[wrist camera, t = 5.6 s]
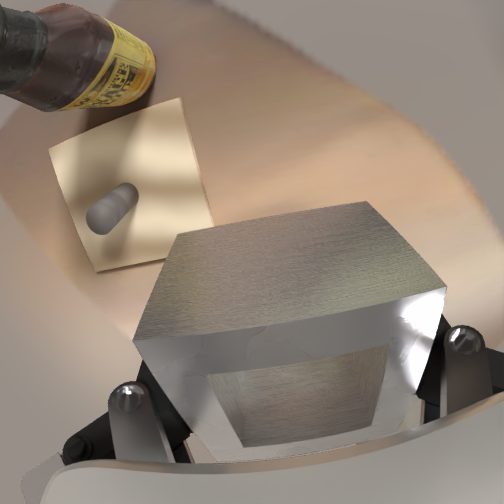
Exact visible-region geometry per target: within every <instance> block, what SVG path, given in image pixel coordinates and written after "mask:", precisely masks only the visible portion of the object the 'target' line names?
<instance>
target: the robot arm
mask: <svg viewBox="0 0 504 504" xmlns="http://www.w3.org/2000/svg"><path fill="white" fill-rule="evenodd" d="M190 433H193V431H192V430H191V429H190V427H189V426H188V425H187V423H186V422H185V421H184V419H183V418H182V417H181V415H180V414H179V412H178V411H177V410H176V408H175V407H174V405H173V404H172V403H171V401H170V400H169V398H168V397H167V395H166V394H165V392H164V391H163V389H162V388H161V386H160V385H159V383H158V382H157V380H156V379H155V377H154V376H153V374H152V373H151V371H150V369H149V368H148V366H147V365H146V363H145V361H144V360H142V363H141V366H140V370H139V373H138V376H137V379H136V381H130V382H125V383H123V384H121V385H119V386H118V387H116V388H115V389H114V391H113V392H112V393H111V394H110V396H109V399H108V412H107V413H105V414H104V415H102V416H101V417H99V418H98V419H96V420H95V421H93V422H92V423H91V424H89V425H88V426H86V427H85V428H83V429H82V430H80V431H79V432H77V433H76V434H74V435H73V436H71V437H70V438H69V439H68V440H67V442H66V443H65V445H64V448H63V453H62V454H60V453H59V452H58V453H56V454H55V455H53V456H52V457H50V458H49V459H47V460H46V461H44V462H43V463H41V464H40V465H38V466H37V467H35V468H34V469H32V470H30V471H29V472H27V473H26V474H25V475H24V476H23V478H22V481H21V490H22V493H23V496H24V499H25V501H26V504H504V353H502V352H499V351H496V350H493V349H489V348H486V345H485V341H484V338H483V336H482V335H481V333H480V332H479V331H478V330H476V329H475V328H473V327H470V326H466V325H457V326H454V327H452V328H451V326H450V325H449V323H448V322H447V320H446V319H445V317H444V316H443V315H442V313H441V316H440V319H439V323H438V327H437V330H436V334H435V337H434V341H433V344H432V347H431V350H430V354H429V357H428V360H427V363H426V365H425V368H424V371H423V374H422V377H421V379H420V382H419V385H418V387H417V390H416V393H415V395H414V398H413V400H412V402H411V405H410V407H409V410H408V412H407V414H406V416H405V419H404V421H403V423H402V425H401V427H400V430H399V431H398V432H395V433H392V434H389V435H385V436H382V437H378V438H375V439H371V440H368V441H364V442H360V443H356V445H354V446H350V447H346V448H341V449H336V450H332V451H327V452H321V453H317V454H310V455H304V456H298V457H290V458H283V459H274V460H265V461H255V462H239V463H217V464H216V463H214V464H195V462H194V459H193V457H192V454H191V452H190V449H189V447H188V444H187V442H186V439H187V438H188V437H189V436H190Z"/></svg>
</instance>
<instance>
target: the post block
mask: <svg viewBox="0 0 504 504" xmlns="http://www.w3.org/2000/svg"><path fill="white" fill-rule="evenodd" d="M49 152H50V156H51V159H52V162H53V166H54V169H55V172H56V175H57V178H58V181H59V184H60V187H61V190H62V193H63V195H64V198H65V201H66V204H67V206H68V209H69V212H70V214H71V217H72V219H73V222H74V224H75V227H76V229H77V232H78V234H79V236H80V239H81V241H82V243H83V246H84V248H85V250H86V252H87V255H88V257H89V259H90V261H91V263H92V266H93V268H94V270H95V272H98V271H103V270H108V269H113V268H118V267H123V266H128V265H132V264H137V263H142V262H147V261H152V260H157V259H162V258H167V256H168V254H169V251H170V249H171V247H172V245H173V243H174V240H175V238H176V236H177V234H179V233H184V232H189V231H194V230H200V229H205V228H210V227H215V225H214V221H213V217H212V214H211V210H210V206H209V203H208V199H207V195H206V192H205V188H204V184H203V180H202V177H201V173H200V169H199V165H198V161H197V158H196V154H195V150H194V146H193V142H192V138H191V134H190V130H189V126H188V122H187V118H186V114H185V110H184V106H183V102H182V98H176V99H173V100H170V101H166V102H163V103H160V104H157V105H154V106H151V107H148V108H145V109H142V110H139V111H136V112H133V113H131V114H128V115H125V116H123V117H120V118H117V119H115V120H112V121H110V122H107V123H105V124H102V125H100V126H97V127H95V128H93V129H90V130H88V131H86V132H84V133H81V134H79V135H77V136H75V137H73V138H71V139H68V140H66V141H64V142H62V143H60V144H58V145H56V146H54V147H52V148H50V149H49Z"/></svg>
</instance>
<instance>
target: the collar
mask: <svg viewBox="0 0 504 504" xmlns="http://www.w3.org/2000/svg"><path fill="white" fill-rule="evenodd" d="M446 290H447V285H446V284H445V283H444V282H443V281H442V279H441V278H440V277H439V276H438V275H437V274H436V273H435V271H434V270H433V269H432V268H431V267H430V266H429V265H428V263H427V262H426V261H425V260H424V259H423V258H422V257H421V256H420V255H419V254H418V252H417V251H416V250H415V249H414V248H413V247H412V246H411V245H410V244H409V243H408V242H407V241H406V240H405V239H404V238H403V237H402V236H401V235H400V233H399V232H398V231H397V230H396V229H395V228H394V227H393V226H392V225H391V224H390V223H389V222H388V221H387V220H386V219H385V218H384V217H383V216H382V215H381V214H380V213H379V212H377V211H376V210H375V209H374V208H373V207H372V206H371V205H370V204H369V203H368V202H367V201H363V202H356V203H350V204H343V205H337V206H330V207H324V208H318V209H312V210H306V211H299V212H294V213H288V214H282V215H276V216H270V217H264V218H259V219H253V220H248V221H242V222H237V223H231V224H226V225H221V226H215V227H210V228H205V229H200V230H194V231H189V232H184V233H179V234H177V236H176V238H175V240H174V243H173V245H172V247H171V249H170V251H169V254H168V256H167V258H166V260H165V263H164V265H163V267H162V269H161V272H160V274H159V276H158V279H157V281H156V283H155V286H154V288H153V290H152V293H151V295H150V298H149V300H148V302H147V305H146V307H145V310H144V312H143V315H142V317H141V320H140V322H139V325H138V327H137V330H136V333H135V335H134V338H133V340H132V341H133V343H134V345H135V346H136V348H137V350H138V351H139V353H140V355H141V356H142V358H143V360H144V361H145V363H146V365H147V366H148V368H149V369H150V371H151V373H152V374H153V376H154V377H155V379H156V380H157V382H158V383H159V385H160V386H161V388H162V389H163V391H164V392H165V394H166V395H167V397H168V398H169V400H170V401H171V403H172V404H173V405H174V407H175V408H176V410H177V411H178V412H179V414H180V415H181V417H182V418H183V419H184V421H185V422H186V423H187V425H188V426H189V427H190V429H191V430H192V431H193V433H194V434H195V435H196V436H197V438H198V439H199V440H200V442H201V443H202V444H203V445H204V446H205V447H206V449H207V450H208V451H209V453H210V454H211V455H212V456H213V457H214V459H215V460H216V461H217V462H223V461H224V462H225V461H245V460H258V459H268V458H278V457H285V456H294V455H300V454H306V453H312V452H318V451H324V450H329V449H333V448H338V447H343V446H347V445H351V444H356V443H360V442H364V441H368V440H371V439H375V438H378V437H382V436H385V435H389V434H392V433H395V432H398V431H399V430H400V427H401V425H402V423H403V421H404V419H405V416H406V414H407V412H408V410H409V407H410V405H411V402H412V400H413V398H414V395H415V393H416V390H417V387H418V385H419V382H420V379H421V377H422V374H423V371H424V368H425V365H426V363H427V360H428V357H429V354H430V350H431V347H432V344H433V341H434V337H435V334H436V330H437V327H438V323H439V319H440V316H441V312H442V308H443V304H444V299H445V295H446Z"/></svg>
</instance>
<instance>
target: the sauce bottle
mask: <svg viewBox="0 0 504 504" xmlns="http://www.w3.org/2000/svg"><path fill="white" fill-rule="evenodd" d="M155 75H156V57H155V55H154V54H153V52H152V51H151V49H150V47H149V46H148V45H147V44H146V43H145V42H143V41H142V40H140V39H138V38H137V37H135V36H134V35H132V34H130V33H129V32H127V31H126V30H124V29H122V28H121V27H119V26H117V25H115V24H114V23H112V22H110V21H108V20H106V19H105V18H103V17H101V16H99V15H96V14H93V13H90V12H88V11H86V10H84V9H83V8H80V7H78V6H74V5H69V4H65V3H61V4H56V5H53V6H49V7H46V8H44V9H41V10H39V11H37V12H35V13H33V12H30V11H24V12H21V11H17V10H13V9H9V8H5V7H2V6H1V5H0V94H4V95H6V96H9V97H11V98H14V99H16V100H18V101H20V102H23V103H25V104H27V105H30V106H32V107H34V108H37V109H39V110H41V111H44V112H53V111H63V110H71V109H84V108H97V107H108V106H121V105H125V104H128V103H130V102H133V101H135V100H137V99H138V98H140V97H141V96H142V95H143V94H144V93H145V92H146V91H147V90H148V89H149V87H150V86H151V85H152V84H153V82H154V79H155Z"/></svg>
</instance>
